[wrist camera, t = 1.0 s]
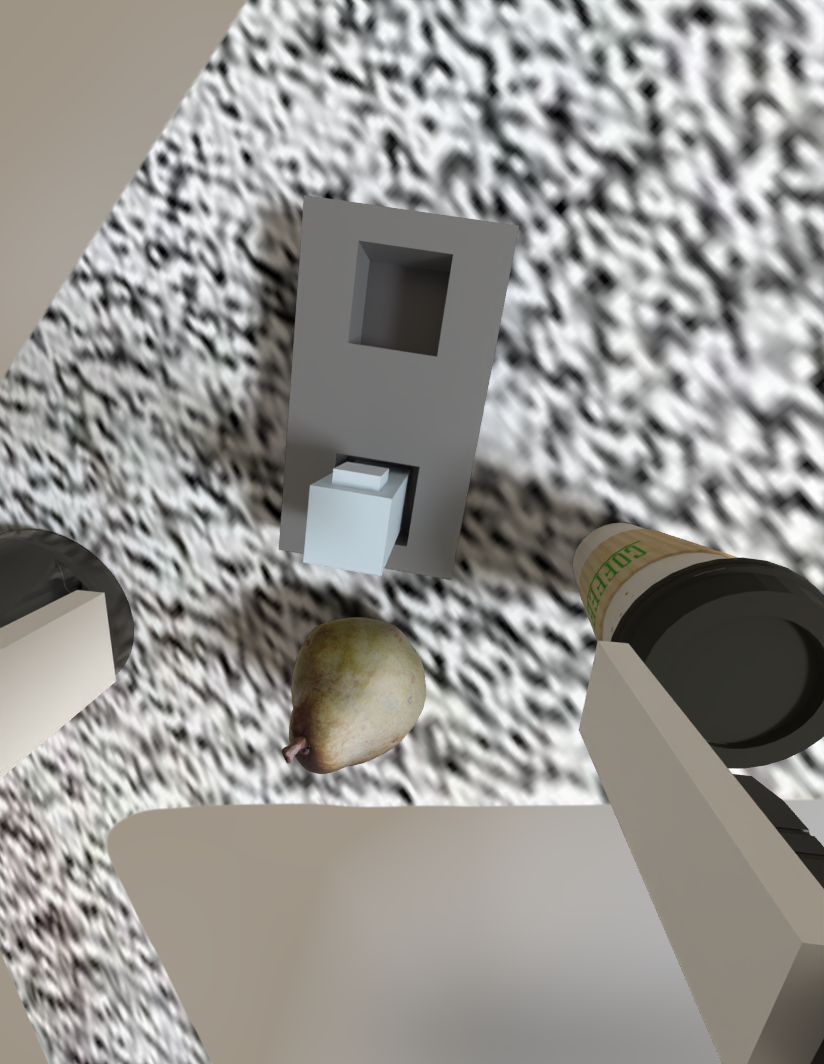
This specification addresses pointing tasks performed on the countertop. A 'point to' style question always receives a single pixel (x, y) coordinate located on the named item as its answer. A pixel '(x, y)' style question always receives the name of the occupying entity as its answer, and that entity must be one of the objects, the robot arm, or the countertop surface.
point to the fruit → (353, 694)
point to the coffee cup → (713, 636)
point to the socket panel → (394, 362)
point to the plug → (356, 516)
